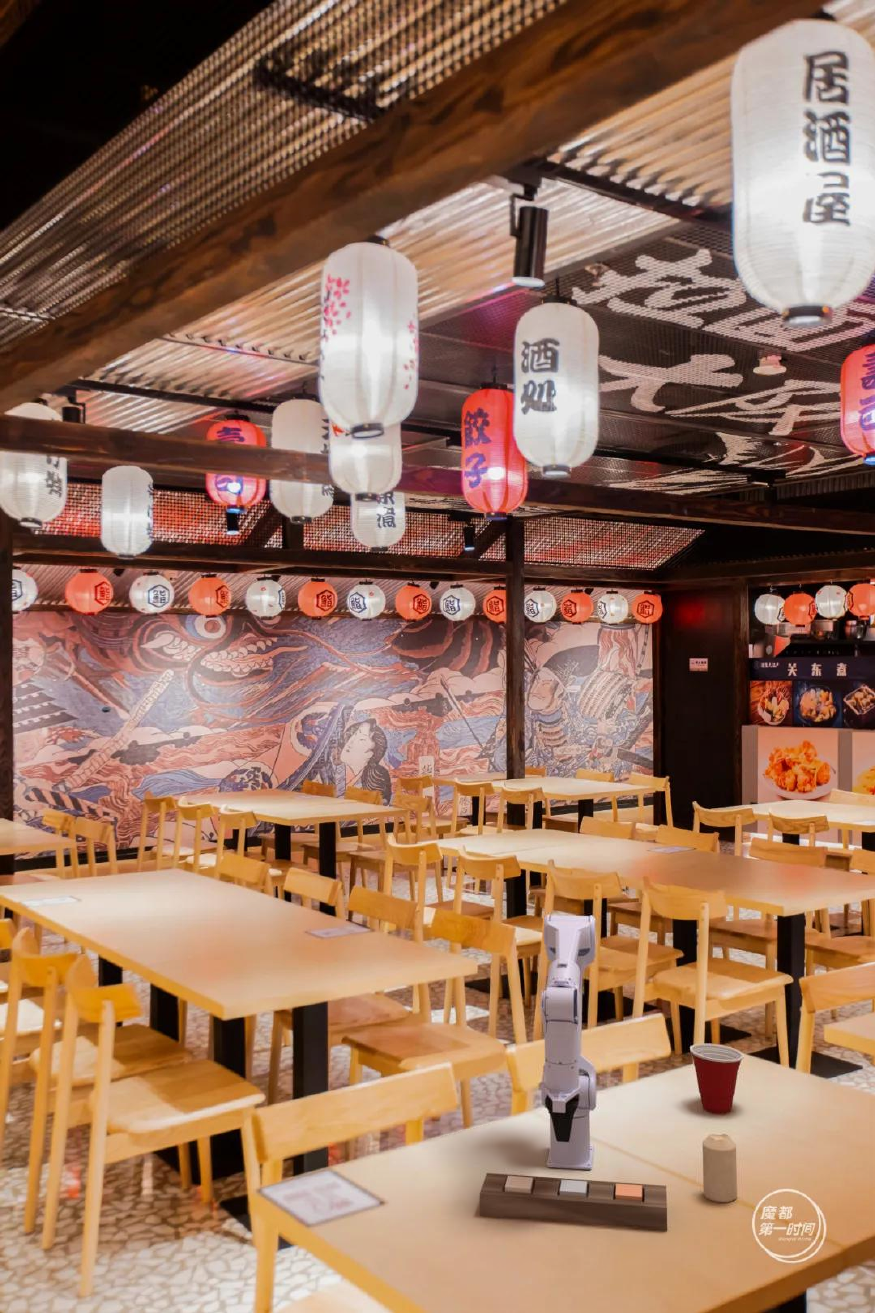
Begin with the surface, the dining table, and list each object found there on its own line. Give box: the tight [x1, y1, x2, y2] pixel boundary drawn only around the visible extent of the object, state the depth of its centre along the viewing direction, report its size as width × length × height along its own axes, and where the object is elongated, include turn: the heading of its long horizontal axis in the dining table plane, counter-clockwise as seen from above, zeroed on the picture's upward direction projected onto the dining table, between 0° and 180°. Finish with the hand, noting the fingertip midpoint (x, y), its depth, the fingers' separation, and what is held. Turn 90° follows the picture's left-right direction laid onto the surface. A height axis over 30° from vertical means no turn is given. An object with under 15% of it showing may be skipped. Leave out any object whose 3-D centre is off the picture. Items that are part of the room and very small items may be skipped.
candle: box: [702, 1133, 738, 1203], centre depth 184 cm, size 6×6×10 cm
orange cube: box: [615, 1184, 642, 1202], centre depth 177 cm, size 4×4×4 cm
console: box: [479, 1172, 668, 1231], centre depth 179 cm, size 8×30×4 cm, turn 79°
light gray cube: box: [560, 1180, 587, 1198], centre depth 179 cm, size 4×4×4 cm
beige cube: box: [505, 1176, 533, 1194], centre depth 180 cm, size 4×4×4 cm
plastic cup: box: [689, 1042, 745, 1115], centre depth 223 cm, size 11×11×12 cm
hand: (563, 1140), depth 184 cm, fingers closed
